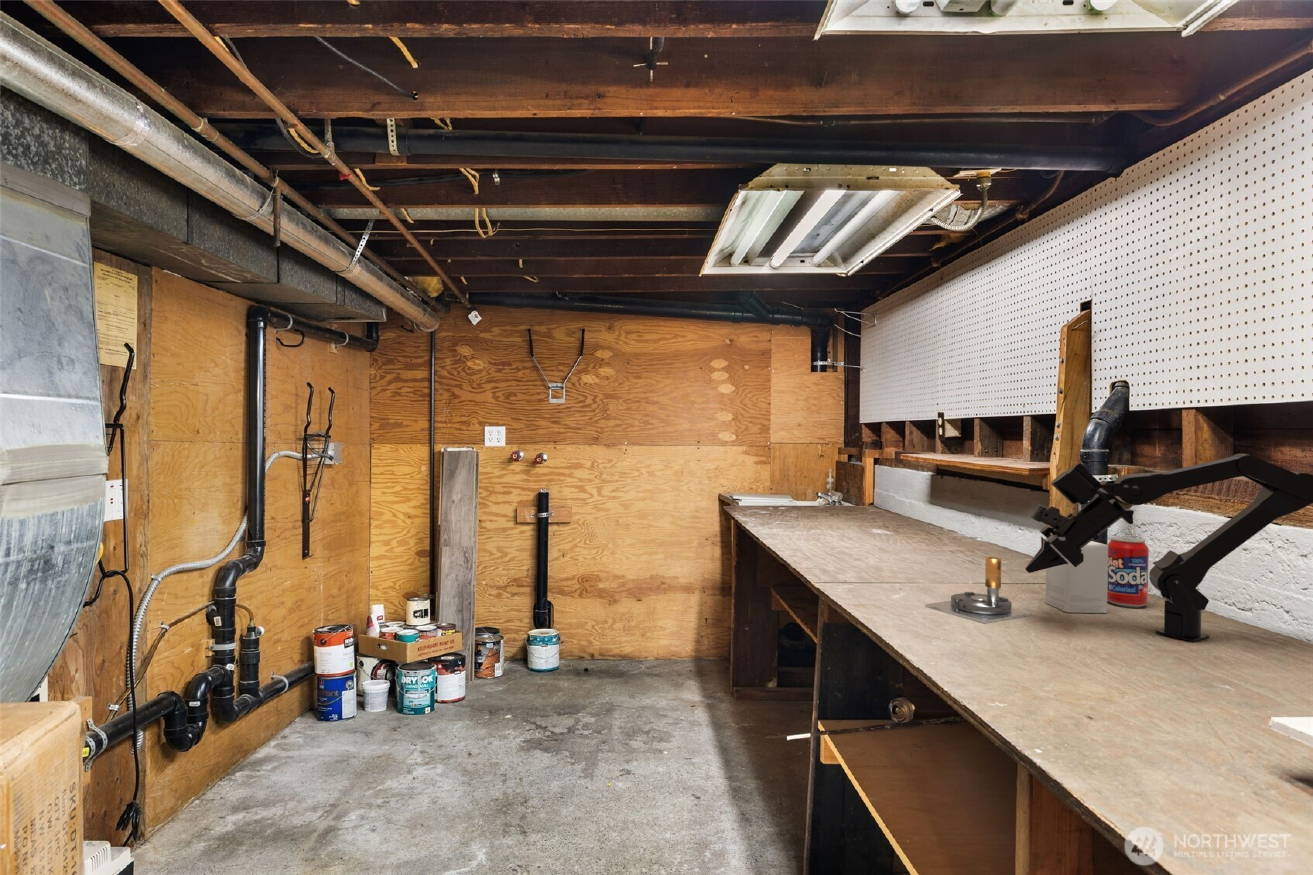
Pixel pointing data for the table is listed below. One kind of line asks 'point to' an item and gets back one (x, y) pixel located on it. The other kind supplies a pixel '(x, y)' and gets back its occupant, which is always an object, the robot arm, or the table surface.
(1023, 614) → the flange plate
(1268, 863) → the table surface
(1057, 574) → the supplement box
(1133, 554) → the soda can
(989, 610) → the metal joystick
